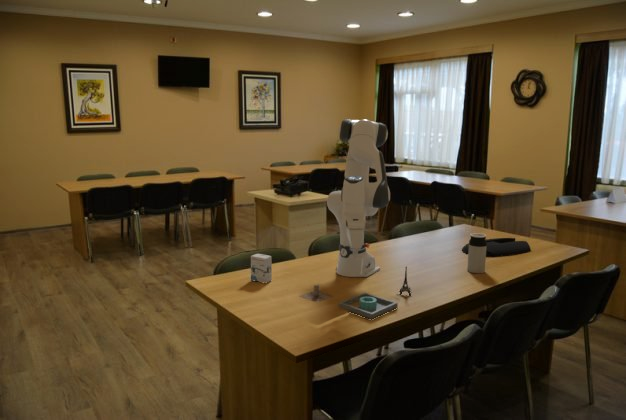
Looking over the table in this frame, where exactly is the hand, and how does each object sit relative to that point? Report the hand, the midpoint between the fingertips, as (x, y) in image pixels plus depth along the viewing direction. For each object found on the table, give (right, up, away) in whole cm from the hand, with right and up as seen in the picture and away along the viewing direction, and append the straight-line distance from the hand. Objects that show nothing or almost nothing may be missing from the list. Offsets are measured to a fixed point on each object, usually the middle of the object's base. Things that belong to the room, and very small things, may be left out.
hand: (353, 254), depth 190 cm
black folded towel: (+86, -6, +85) cm, 121 cm away
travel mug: (+63, -13, +46) cm, 79 cm away
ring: (+5, -20, -1) cm, 21 cm away
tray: (+5, -21, -1) cm, 22 cm away
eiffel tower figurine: (+23, -19, +16) cm, 34 cm away
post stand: (-14, -19, +11) cm, 26 cm away
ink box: (-39, -15, +32) cm, 53 cm away
